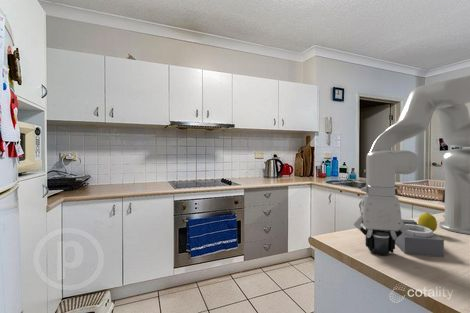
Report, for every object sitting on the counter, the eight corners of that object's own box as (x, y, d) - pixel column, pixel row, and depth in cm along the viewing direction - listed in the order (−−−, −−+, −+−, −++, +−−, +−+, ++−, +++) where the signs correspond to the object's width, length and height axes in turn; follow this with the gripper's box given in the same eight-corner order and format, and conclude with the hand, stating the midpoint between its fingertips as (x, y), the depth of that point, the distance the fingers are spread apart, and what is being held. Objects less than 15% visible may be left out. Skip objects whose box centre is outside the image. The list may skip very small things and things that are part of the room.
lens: (368, 248, 77) (368, 226, 77) (386, 250, 76) (386, 228, 75) (373, 255, 72) (373, 232, 72) (392, 256, 71) (392, 233, 71)
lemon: (414, 231, 93) (415, 210, 92) (431, 231, 91) (431, 211, 91) (423, 236, 87) (423, 214, 87) (440, 237, 86) (440, 215, 86)
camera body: (386, 235, 88) (386, 217, 88) (418, 237, 86) (418, 219, 86) (404, 253, 73) (404, 232, 73) (443, 256, 70) (444, 235, 70)
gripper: (352, 192, 72) (352, 252, 73) (418, 194, 68) (417, 258, 68) (347, 188, 79) (347, 242, 80) (407, 190, 75) (406, 247, 75)
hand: (379, 249), depth 74 cm, fingers closed on lens, 5 cm apart
